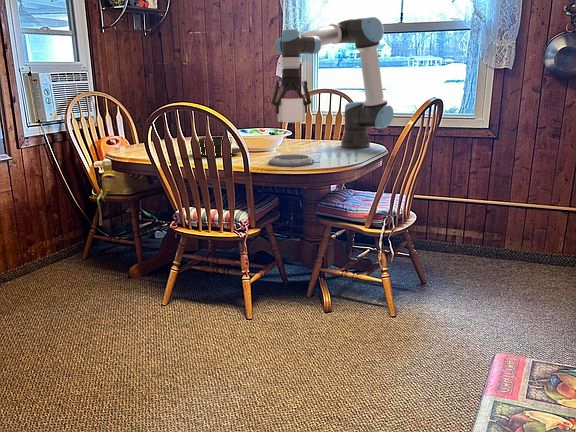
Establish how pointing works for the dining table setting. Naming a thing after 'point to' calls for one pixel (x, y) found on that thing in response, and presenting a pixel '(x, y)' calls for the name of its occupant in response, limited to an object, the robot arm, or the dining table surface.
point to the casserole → (217, 145)
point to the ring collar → (291, 160)
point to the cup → (291, 110)
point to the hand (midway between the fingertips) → (291, 121)
